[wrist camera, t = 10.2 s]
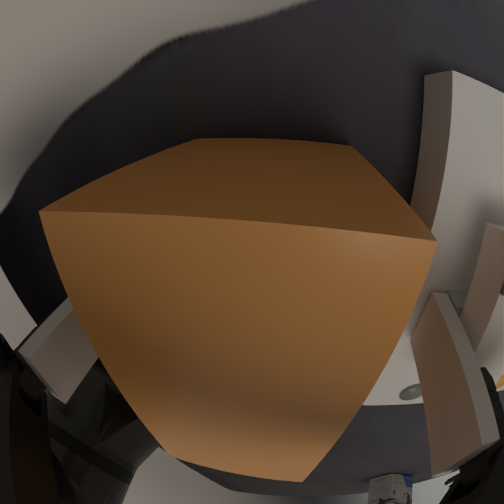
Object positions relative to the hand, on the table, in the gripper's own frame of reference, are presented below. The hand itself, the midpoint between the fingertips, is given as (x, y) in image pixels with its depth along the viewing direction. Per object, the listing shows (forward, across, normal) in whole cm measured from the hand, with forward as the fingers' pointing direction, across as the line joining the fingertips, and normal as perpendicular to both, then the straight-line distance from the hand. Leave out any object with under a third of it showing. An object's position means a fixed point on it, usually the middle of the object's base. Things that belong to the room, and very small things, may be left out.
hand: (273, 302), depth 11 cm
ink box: (+3, +23, -42) cm, 48 cm away
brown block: (+2, -1, 0) cm, 2 cm away
